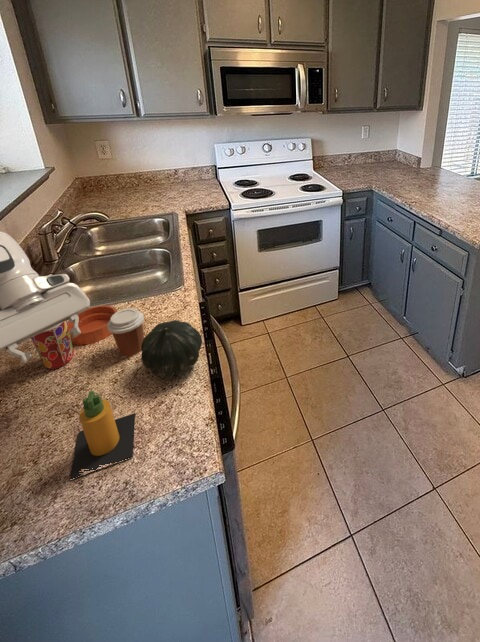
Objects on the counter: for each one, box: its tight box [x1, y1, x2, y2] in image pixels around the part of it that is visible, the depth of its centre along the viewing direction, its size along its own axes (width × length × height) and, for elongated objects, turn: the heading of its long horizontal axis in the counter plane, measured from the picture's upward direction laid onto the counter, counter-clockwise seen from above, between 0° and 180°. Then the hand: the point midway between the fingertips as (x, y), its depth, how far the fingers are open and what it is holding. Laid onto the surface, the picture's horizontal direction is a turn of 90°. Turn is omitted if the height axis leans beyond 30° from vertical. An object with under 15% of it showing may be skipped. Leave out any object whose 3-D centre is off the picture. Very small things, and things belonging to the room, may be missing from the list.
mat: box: [68, 412, 136, 481], centre depth 76 cm, size 11×11×1 cm
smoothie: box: [30, 320, 75, 370], centre depth 94 cm, size 8×8×20 cm
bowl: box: [67, 304, 118, 346], centre depth 109 cm, size 13×13×4 cm
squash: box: [141, 319, 203, 380], centre depth 95 cm, size 14×15×15 cm
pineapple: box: [78, 390, 119, 456], centre depth 73 cm, size 5×5×13 cm
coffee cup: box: [107, 307, 145, 358], centre depth 100 cm, size 9×9×12 cm
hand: (54, 347), depth 79 cm, fingers open, 8 cm apart
